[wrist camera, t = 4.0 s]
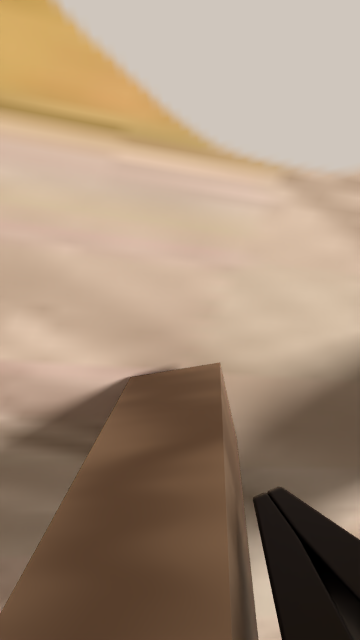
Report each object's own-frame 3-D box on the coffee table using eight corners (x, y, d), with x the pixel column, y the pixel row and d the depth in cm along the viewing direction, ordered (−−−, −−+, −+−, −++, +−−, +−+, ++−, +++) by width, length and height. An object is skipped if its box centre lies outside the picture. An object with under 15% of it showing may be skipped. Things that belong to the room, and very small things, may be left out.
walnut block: (219, 362, 12) (234, 713, 3) (236, 439, 13) (280, 849, 4) (130, 377, 12) (-46, 695, 4) (154, 449, 14) (55, 817, 5)
